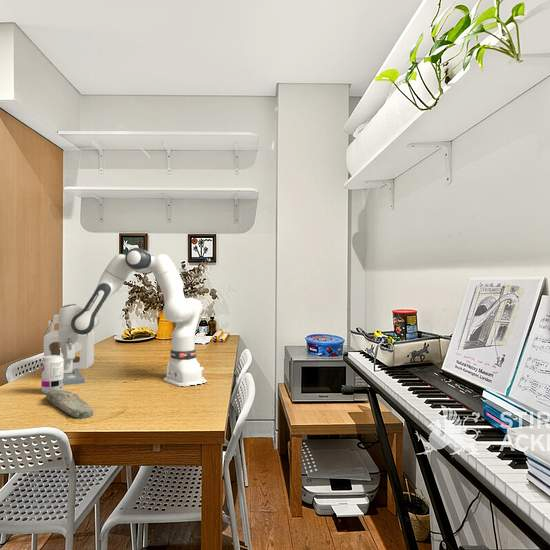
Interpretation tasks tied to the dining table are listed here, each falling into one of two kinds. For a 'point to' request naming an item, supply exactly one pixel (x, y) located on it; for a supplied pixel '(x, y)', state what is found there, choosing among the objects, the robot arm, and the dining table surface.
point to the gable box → (86, 340)
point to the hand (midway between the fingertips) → (67, 365)
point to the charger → (67, 369)
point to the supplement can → (52, 373)
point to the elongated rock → (70, 403)
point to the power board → (73, 378)
